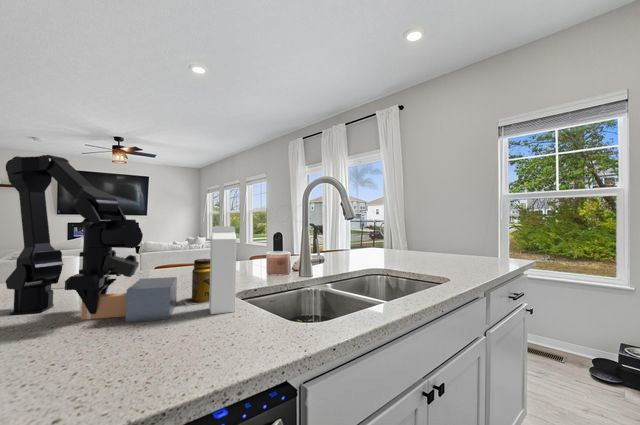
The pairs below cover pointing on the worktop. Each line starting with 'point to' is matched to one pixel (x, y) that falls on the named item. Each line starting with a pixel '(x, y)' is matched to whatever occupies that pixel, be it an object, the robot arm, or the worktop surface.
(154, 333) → the worktop surface
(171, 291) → the gray block
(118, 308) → the tan banded carton
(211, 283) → the milk
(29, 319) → the worktop surface
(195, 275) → the condiment
